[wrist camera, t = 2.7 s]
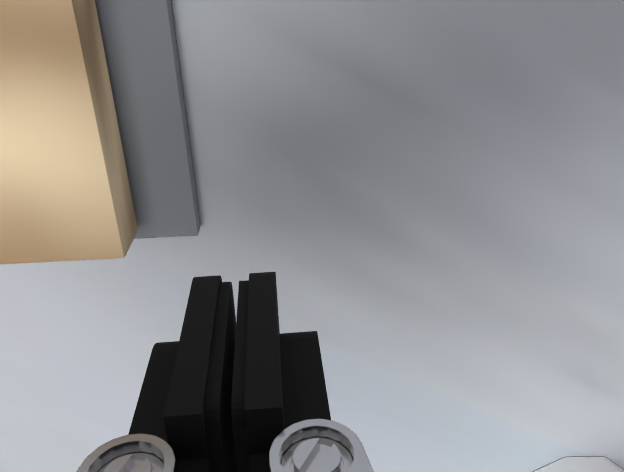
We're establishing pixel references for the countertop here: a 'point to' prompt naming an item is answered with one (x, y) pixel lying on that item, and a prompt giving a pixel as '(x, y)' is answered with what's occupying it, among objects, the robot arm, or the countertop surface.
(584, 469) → the white bottle
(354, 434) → the robot arm
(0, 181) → the oak link
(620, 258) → the countertop surface
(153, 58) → the charcoal mat
